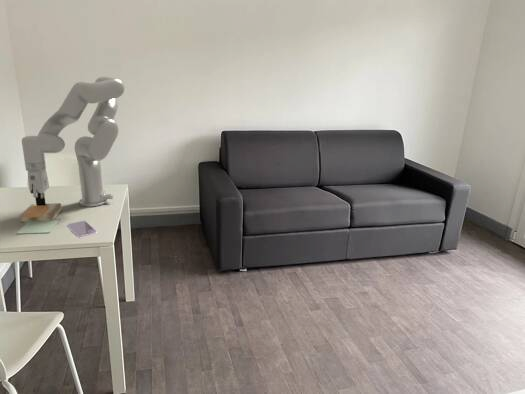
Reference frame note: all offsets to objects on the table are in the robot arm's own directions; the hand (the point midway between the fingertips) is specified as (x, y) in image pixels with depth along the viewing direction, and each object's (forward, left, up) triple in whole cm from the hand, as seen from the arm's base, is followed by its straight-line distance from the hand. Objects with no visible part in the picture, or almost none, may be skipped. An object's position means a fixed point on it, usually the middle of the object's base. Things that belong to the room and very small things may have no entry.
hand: (41, 206), depth 176 cm
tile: (0, +6, -1) cm, 6 cm away
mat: (-3, +14, -4) cm, 15 cm away
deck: (0, +1, -4) cm, 4 cm away
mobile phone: (-20, +17, -4) cm, 27 cm away
